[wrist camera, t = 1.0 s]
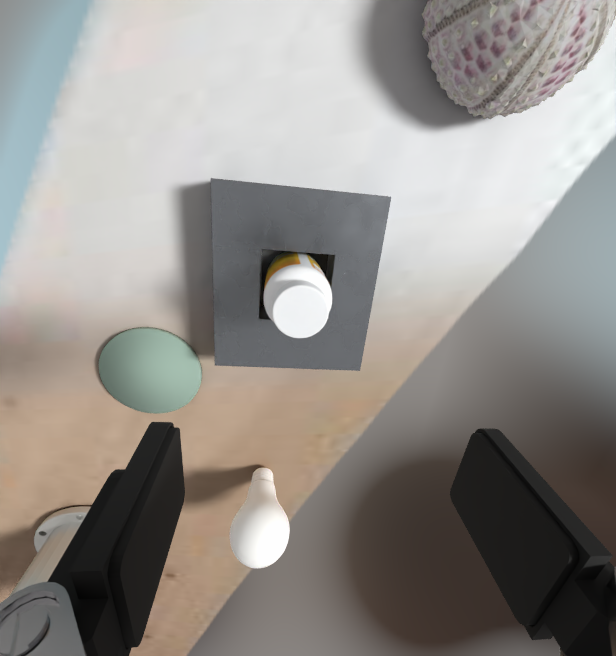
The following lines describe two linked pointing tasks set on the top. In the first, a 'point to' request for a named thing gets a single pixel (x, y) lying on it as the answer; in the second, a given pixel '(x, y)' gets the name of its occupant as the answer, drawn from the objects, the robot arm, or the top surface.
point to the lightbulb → (260, 524)
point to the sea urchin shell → (512, 48)
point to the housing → (297, 236)
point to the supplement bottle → (297, 294)
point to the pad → (150, 370)
